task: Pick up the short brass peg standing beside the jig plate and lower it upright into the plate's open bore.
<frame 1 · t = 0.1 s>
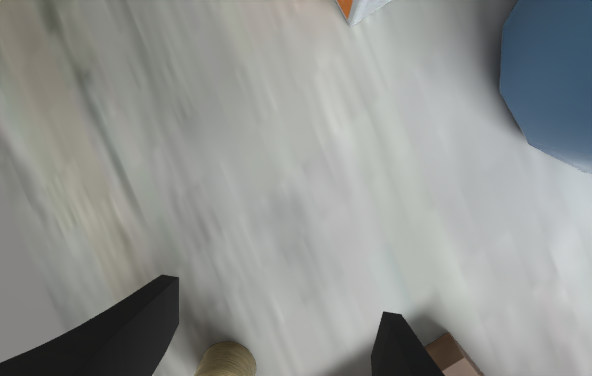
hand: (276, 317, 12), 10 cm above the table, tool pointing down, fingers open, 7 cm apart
brass peg: (229, 366, 24), on the table
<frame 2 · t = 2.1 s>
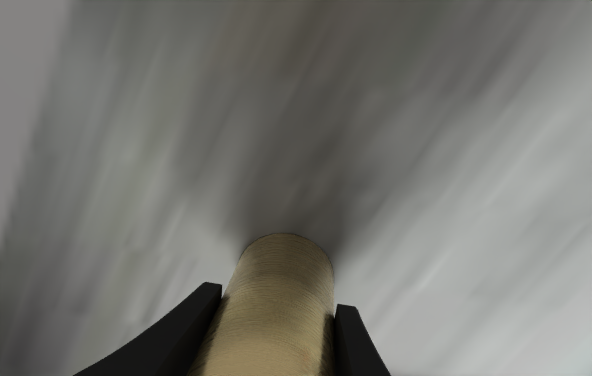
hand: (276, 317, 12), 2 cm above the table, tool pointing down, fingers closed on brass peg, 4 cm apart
brass peg: (285, 276, 14), on the table, touching gripper
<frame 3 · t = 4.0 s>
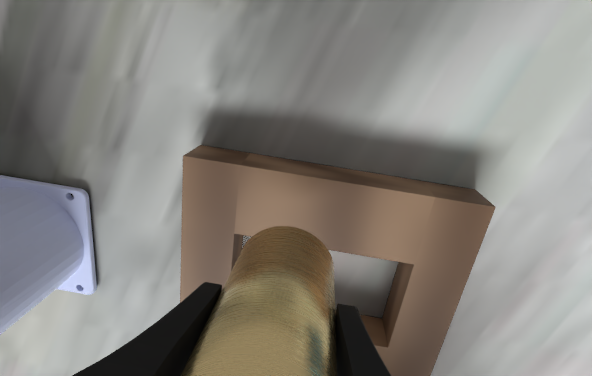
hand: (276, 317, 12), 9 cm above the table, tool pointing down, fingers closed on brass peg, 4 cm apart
jig plate: (316, 268, 22), on the table
brass peg: (285, 269, 14), point 7 cm above the table, touching gripper
when the fingers open (4 cm above the table, at t = 6.1 s): brass peg drops 1 cm, resting in jig plate.
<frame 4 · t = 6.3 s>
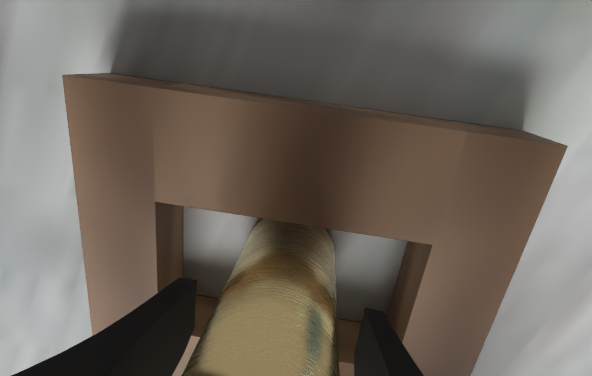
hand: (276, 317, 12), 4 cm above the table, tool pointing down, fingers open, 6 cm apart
jig plate: (289, 257, 15), on the table
brass peg: (290, 252, 15), resting in jig plate
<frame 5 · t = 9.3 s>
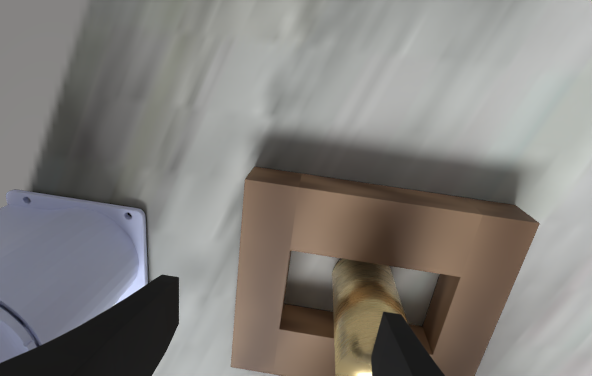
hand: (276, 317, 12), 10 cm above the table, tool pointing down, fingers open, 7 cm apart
jig plate: (360, 280, 23), on the table
brass peg: (361, 277, 23), resting in jig plate
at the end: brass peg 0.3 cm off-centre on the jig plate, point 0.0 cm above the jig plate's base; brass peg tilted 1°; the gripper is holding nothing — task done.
